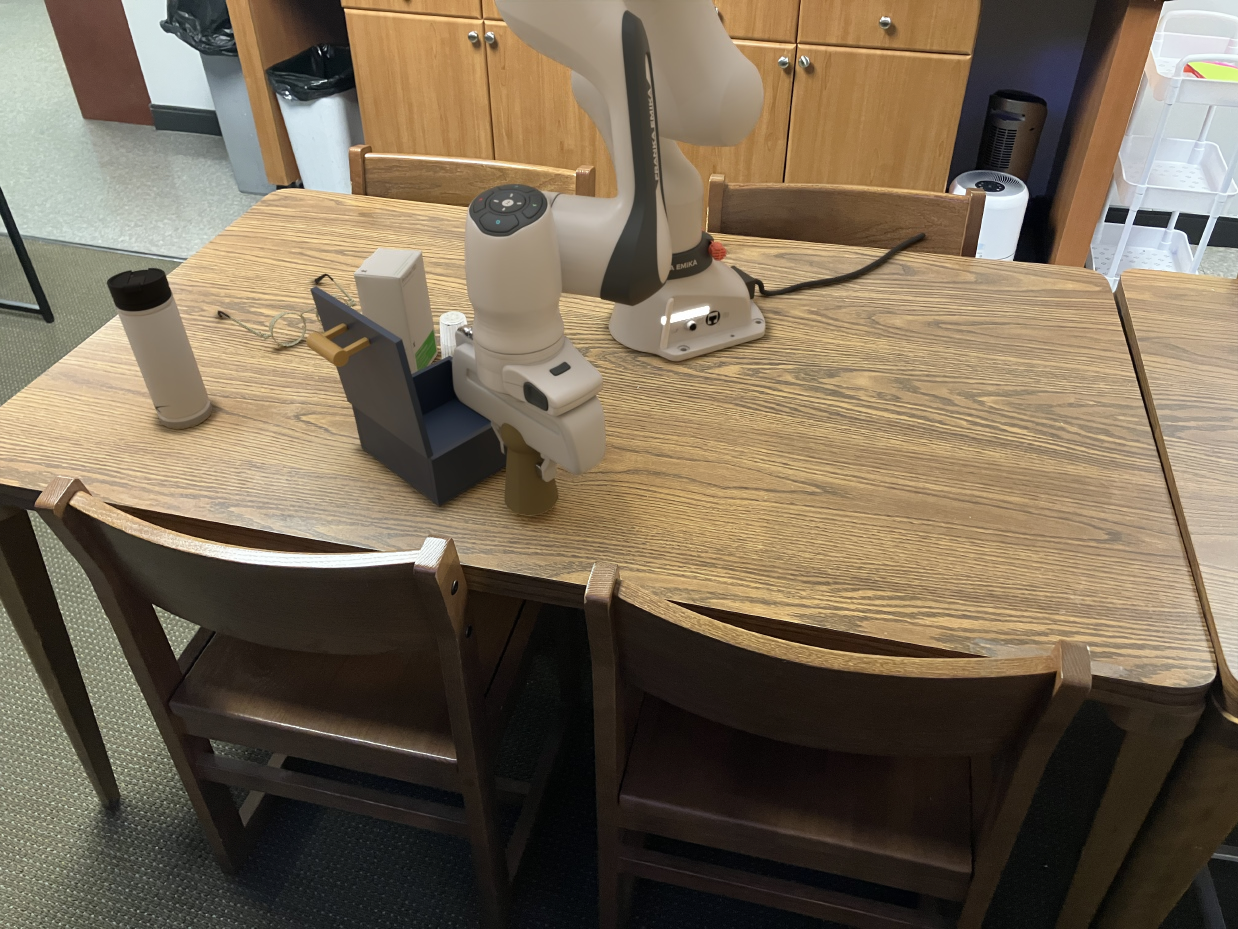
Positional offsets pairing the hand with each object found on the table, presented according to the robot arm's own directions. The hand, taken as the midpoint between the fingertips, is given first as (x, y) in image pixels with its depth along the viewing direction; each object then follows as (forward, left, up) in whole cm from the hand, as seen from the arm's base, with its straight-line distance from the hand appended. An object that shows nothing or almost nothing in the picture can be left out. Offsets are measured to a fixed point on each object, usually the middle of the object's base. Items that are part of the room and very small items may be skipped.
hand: (529, 464), depth 100 cm
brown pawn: (0, 0, -5) cm, 5 cm away
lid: (+14, -10, +9) cm, 19 cm away
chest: (+8, -13, -6) cm, 17 cm away
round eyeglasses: (+26, -51, -6) cm, 58 cm away
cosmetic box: (+11, -33, -6) cm, 36 cm away
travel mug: (+39, -29, -6) cm, 49 cm away
